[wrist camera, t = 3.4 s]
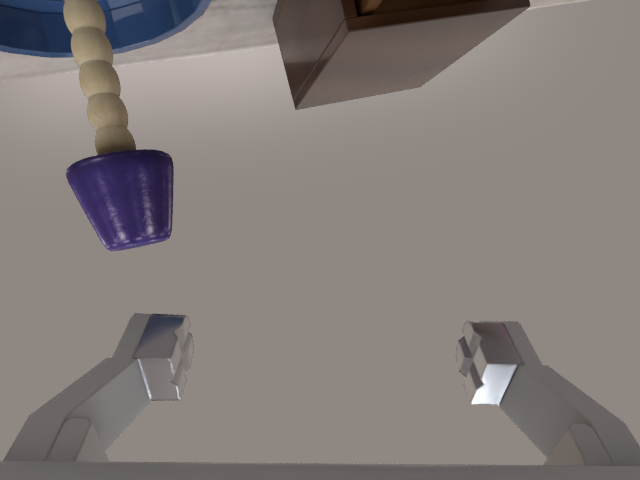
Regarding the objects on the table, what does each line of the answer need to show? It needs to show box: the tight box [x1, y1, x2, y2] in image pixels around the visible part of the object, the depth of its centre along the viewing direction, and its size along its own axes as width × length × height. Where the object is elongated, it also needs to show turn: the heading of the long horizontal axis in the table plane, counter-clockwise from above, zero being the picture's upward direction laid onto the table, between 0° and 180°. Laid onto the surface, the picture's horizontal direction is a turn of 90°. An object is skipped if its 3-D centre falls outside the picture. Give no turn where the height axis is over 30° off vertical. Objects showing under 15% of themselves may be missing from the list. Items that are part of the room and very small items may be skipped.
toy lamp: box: [63, 0, 173, 251], centre depth 20 cm, size 5×5×17 cm
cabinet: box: [273, 0, 530, 110], centre depth 33 cm, size 15×13×8 cm
